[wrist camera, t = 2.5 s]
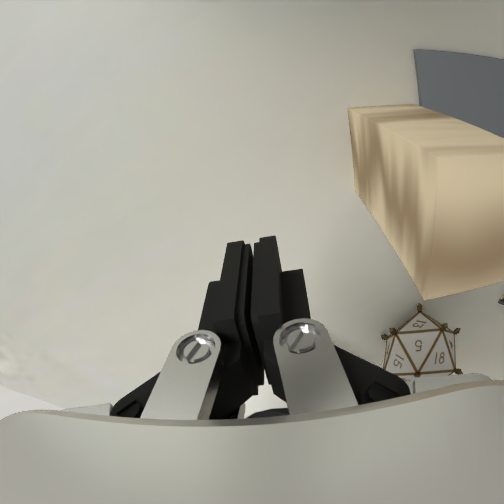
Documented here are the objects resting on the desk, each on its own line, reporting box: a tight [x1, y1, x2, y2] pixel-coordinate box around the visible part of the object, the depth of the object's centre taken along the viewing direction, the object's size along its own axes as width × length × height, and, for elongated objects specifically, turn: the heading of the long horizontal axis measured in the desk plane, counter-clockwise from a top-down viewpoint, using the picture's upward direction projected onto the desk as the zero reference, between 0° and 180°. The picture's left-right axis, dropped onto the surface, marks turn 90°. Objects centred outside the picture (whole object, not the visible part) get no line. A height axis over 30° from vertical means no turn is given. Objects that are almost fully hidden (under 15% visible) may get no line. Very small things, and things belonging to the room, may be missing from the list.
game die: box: [381, 303, 463, 381], centre depth 26 cm, size 9×8×10 cm
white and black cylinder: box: [244, 369, 289, 419], centre depth 25 cm, size 7×7×10 cm
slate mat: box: [414, 49, 504, 138], centre depth 19 cm, size 14×11×1 cm
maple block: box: [348, 104, 504, 301], centre depth 15 cm, size 6×5×12 cm
